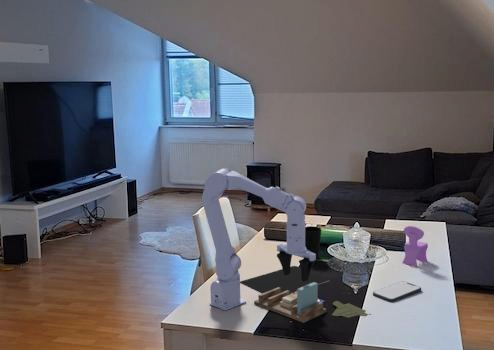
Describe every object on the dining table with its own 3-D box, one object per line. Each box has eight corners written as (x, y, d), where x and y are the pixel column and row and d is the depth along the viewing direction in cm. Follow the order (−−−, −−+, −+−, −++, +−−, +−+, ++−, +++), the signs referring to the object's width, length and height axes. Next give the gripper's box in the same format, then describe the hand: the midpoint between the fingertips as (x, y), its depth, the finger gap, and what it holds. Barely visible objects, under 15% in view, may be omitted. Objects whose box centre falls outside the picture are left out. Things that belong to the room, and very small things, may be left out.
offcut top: (290, 304, 182) (290, 300, 181) (282, 301, 184) (282, 297, 184) (300, 299, 185) (300, 296, 185) (292, 296, 188) (292, 293, 187)
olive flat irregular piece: (360, 329, 169) (360, 326, 168) (318, 310, 183) (318, 307, 183) (385, 320, 175) (385, 316, 175) (342, 301, 189) (342, 298, 189)
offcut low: (290, 309, 181) (290, 305, 181) (279, 305, 184) (279, 301, 184) (302, 303, 185) (302, 300, 185) (292, 300, 188) (292, 296, 188)
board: (301, 315, 176) (300, 290, 175) (297, 313, 178) (297, 289, 176) (317, 307, 182) (317, 283, 181) (313, 306, 183) (313, 282, 182)
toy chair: (430, 261, 226) (431, 224, 223) (419, 267, 220) (420, 229, 217) (410, 257, 232) (411, 220, 229) (399, 262, 225) (400, 225, 223)
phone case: (391, 304, 187) (423, 292, 196) (391, 300, 187) (423, 287, 196) (371, 296, 194) (402, 284, 203) (371, 292, 194) (402, 280, 203)
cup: (316, 261, 228) (316, 232, 226) (298, 258, 232) (298, 229, 230) (324, 256, 235) (324, 227, 232) (307, 253, 239) (307, 225, 236)
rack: (303, 322, 173) (303, 313, 173) (254, 303, 188) (254, 295, 188) (326, 311, 181) (326, 302, 180) (277, 294, 196) (277, 286, 195)
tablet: (295, 265, 224) (331, 279, 208) (295, 267, 224) (331, 281, 208) (238, 282, 208) (273, 298, 192) (238, 283, 208) (273, 300, 192)
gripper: (322, 237, 177) (321, 279, 180) (287, 229, 188) (287, 268, 190) (307, 242, 173) (307, 285, 175) (272, 233, 183) (272, 274, 185)
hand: (295, 277), depth 182 cm, fingers open, 7 cm apart
